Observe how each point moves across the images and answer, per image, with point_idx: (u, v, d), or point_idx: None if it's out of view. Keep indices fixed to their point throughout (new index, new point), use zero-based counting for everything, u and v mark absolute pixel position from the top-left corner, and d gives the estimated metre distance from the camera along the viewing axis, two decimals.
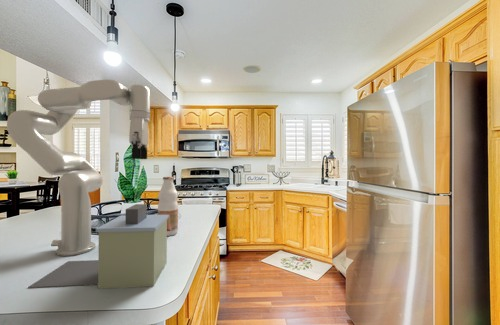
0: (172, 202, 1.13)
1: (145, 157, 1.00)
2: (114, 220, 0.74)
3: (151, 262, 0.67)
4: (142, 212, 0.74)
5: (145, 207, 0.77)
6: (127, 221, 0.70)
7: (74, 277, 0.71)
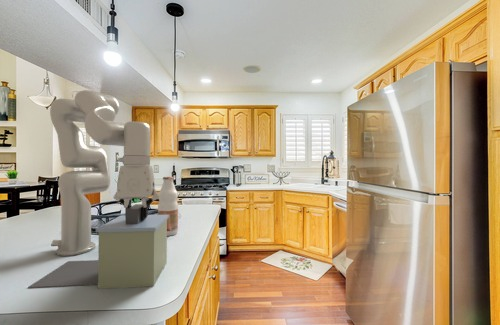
0: (172, 202, 1.13)
1: None
2: (114, 220, 0.74)
3: (151, 262, 0.67)
4: None
5: None
6: (127, 221, 0.70)
7: (74, 277, 0.71)
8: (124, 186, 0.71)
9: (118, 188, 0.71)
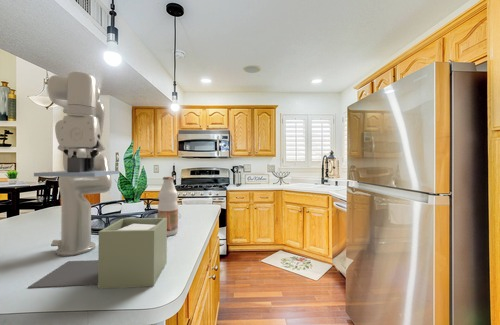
0: (172, 202, 1.13)
1: None
2: (59, 171, 0.75)
3: (151, 262, 0.67)
4: None
5: None
6: (69, 169, 0.71)
7: (74, 277, 0.71)
8: (67, 135, 0.72)
9: (61, 137, 0.72)
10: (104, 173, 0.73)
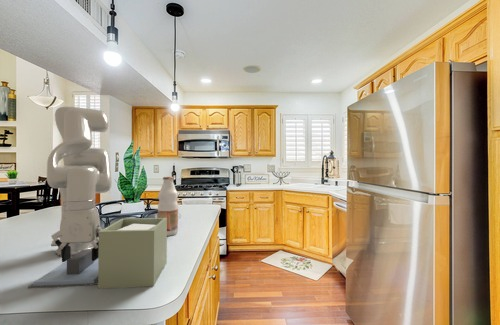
0: (172, 202, 1.13)
1: (69, 256, 0.76)
2: (59, 267, 0.75)
3: (151, 262, 0.67)
4: (87, 259, 0.75)
5: (91, 253, 0.78)
6: (68, 271, 0.71)
7: None
8: (66, 231, 0.72)
9: (60, 233, 0.72)
10: None
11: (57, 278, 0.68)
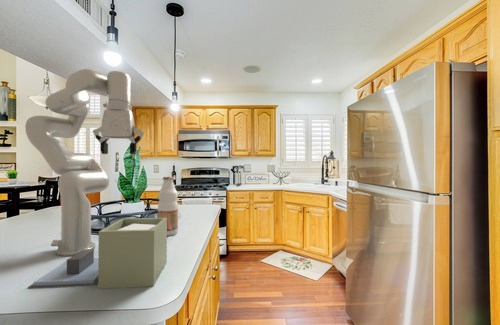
0: (172, 202, 1.13)
1: (107, 152, 0.86)
2: (59, 267, 0.75)
3: (151, 262, 0.67)
4: (87, 259, 0.75)
5: (91, 253, 0.78)
6: (68, 271, 0.71)
7: None
8: (107, 126, 0.82)
9: (102, 128, 0.82)
10: None
11: (57, 278, 0.68)
